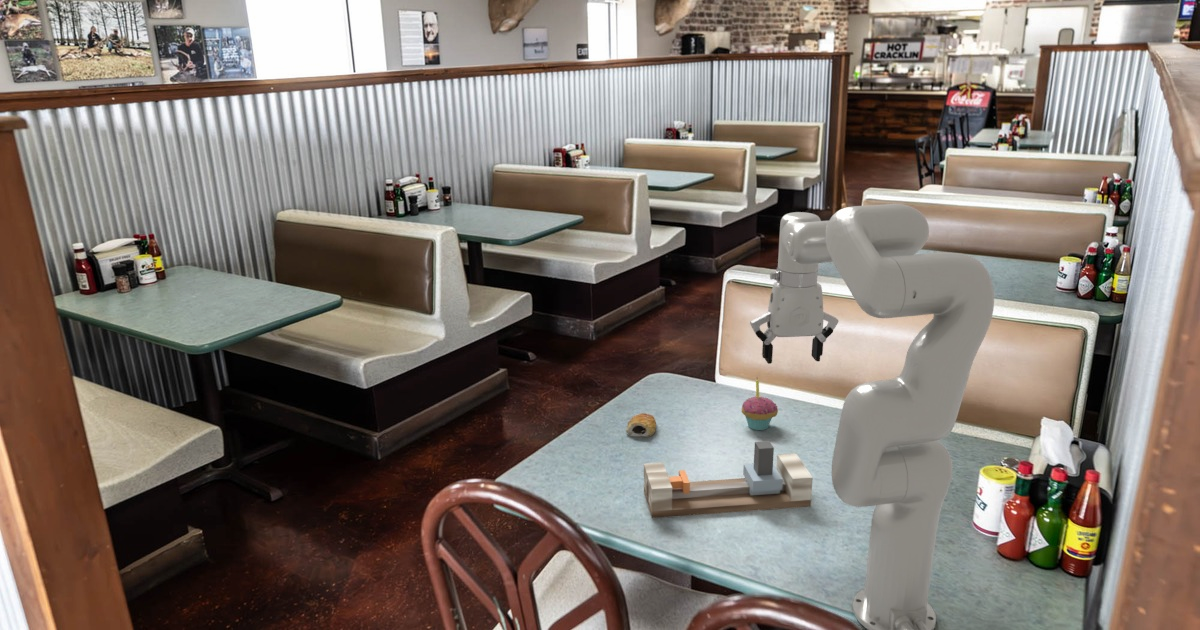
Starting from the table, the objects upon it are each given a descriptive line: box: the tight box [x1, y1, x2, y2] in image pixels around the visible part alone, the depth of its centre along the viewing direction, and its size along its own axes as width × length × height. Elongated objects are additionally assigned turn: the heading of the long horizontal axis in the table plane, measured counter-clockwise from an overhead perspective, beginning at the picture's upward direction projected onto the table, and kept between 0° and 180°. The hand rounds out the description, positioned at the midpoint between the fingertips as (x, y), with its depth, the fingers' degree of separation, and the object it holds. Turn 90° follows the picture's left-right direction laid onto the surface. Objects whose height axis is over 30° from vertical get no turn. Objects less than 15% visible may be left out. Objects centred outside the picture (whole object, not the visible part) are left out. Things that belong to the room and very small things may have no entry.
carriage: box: [743, 440, 783, 495], centre depth 165 cm, size 7×6×10 cm
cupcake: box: [741, 377, 779, 431], centre depth 195 cm, size 9×8×12 cm
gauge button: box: [668, 469, 691, 494], centre depth 164 cm, size 5×6×2 cm
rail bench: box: [643, 452, 814, 519], centre depth 165 cm, size 10×32×6 cm, turn 96°
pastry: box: [625, 412, 657, 438], centre depth 196 cm, size 9×7×4 cm
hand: (791, 360), depth 163 cm, fingers open, 9 cm apart
